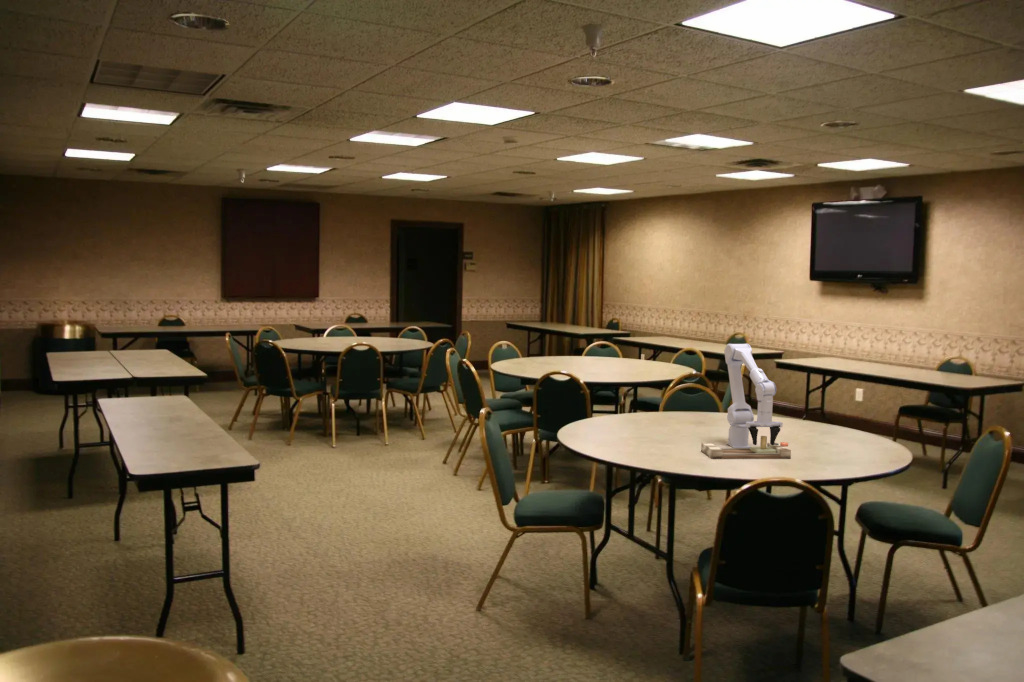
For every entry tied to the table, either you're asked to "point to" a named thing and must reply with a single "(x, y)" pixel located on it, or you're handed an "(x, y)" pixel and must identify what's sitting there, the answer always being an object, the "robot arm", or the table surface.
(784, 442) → the button
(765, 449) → the carriage
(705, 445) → the rail
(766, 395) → the robot arm
